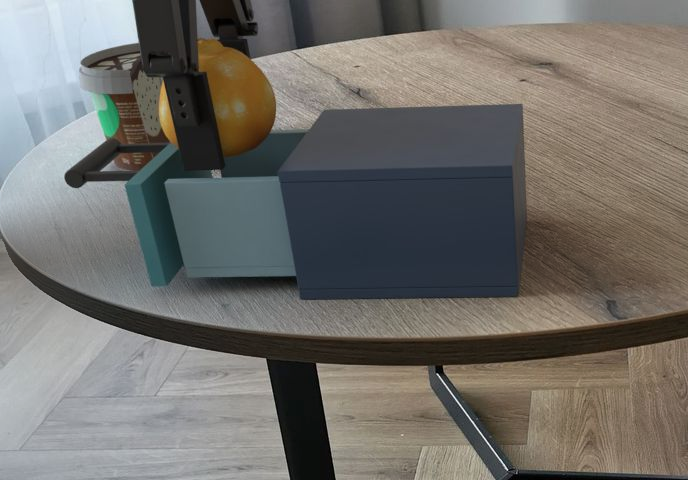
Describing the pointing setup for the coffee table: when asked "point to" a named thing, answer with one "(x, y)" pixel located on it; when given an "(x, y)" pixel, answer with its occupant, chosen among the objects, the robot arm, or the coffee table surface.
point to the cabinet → (408, 203)
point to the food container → (124, 100)
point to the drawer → (203, 209)
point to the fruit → (231, 99)
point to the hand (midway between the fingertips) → (225, 146)
